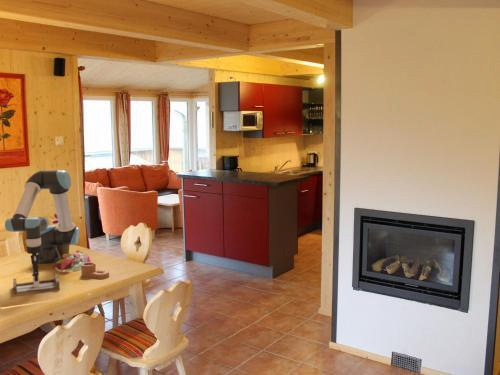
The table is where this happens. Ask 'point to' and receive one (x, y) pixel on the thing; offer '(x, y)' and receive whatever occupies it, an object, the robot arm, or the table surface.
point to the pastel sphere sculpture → (72, 262)
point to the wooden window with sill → (29, 287)
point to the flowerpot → (61, 248)
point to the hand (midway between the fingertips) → (36, 283)
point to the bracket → (93, 271)
